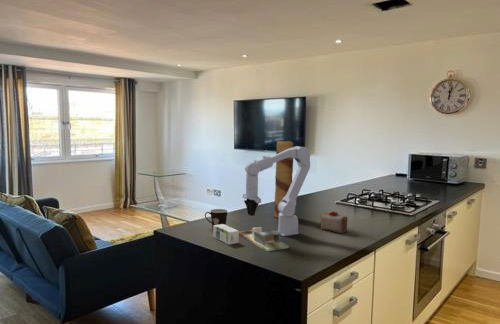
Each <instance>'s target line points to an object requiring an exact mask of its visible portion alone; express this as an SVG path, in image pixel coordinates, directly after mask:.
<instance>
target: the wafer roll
mask: <svg viewBox="0 0 500 324" xmlns="http://www.w3.org/2000/svg"><path fill="white" fill-rule="evenodd" d="M293 147H294V142H293V141H290V140H286V141H283V140H278V141H277V142H276V151H275V152H276V154H278V153H280V152H283V151H285V150H287V149H289V148H293ZM276 154H275V155H276ZM293 171H294V158H290V157H288V158H285V159H283V160H280V161H278V162H275V176H274V178H275V184H274V185H275V191H274V209H273V211H274V213H273V214H274V216H273V217H274V218H277V219H279V213H280V212H279V210H278V204H279V203H280V202H281V201H282V199H283V198H284V197H285V196H286V194H287V192H288V190H289V188H290V185H291V183H292V181H293V173H294V172H293Z"/></svg>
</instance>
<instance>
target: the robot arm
mask: <svg viewBox="0 0 500 324" xmlns="http://www.w3.org/2000/svg"><path fill="white" fill-rule="evenodd" d="M288 157H290V158H293V160H295V162H296V163H297V166H298V167H297V170H296V172H295V174H294V177H293V178H292V183H291V185H290V188H289V190H288V192H287V194H286V196H285V197H284V198H283V199H282V201H281V202H280V203H279V204H278V210H279V212H280V213H279V218H278V227H277V231H279V232H281V236H283V237H285V236H294V235H299V234H300V233H299V218H298V216H297V215H295V213H296V206H297V198H298V196H299V194H300V192H301V189H302V186H304V185H303V184H304V182H305V180H306V179H307V178H306V177H307V175H308V173H309V171H310V169H311V153H310V150H309V149H308V148H307V147H304V146H299V145H296V146H293V148H289V149H287V150H285V151H283V152H280V153H278V154H274V155H272V156H269V155H262V158H260V159H254V160H253V162H252V161H251V162H248V163H247V164H246V165H245V167H244V170H245V172H246V177H245V180H246V181H245V193H243V194H242V198H243V199H244V200H243V202H244V204H245V207H246V210H247V215H248V216H250V217H253V216H255V215H256V212H257V207H258V206H259V204H261V203H262V198H260V197H259V194H258V193H259V191H258V190H259V188H258V187H259V173H260V172H263V171H265V170H267V169H269V168H272V167H273V166H274V163H275V164H276V162H278V161H280V160H283V159H285V158H288Z"/></svg>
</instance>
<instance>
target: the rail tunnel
mask: <svg viewBox="0 0 500 324" xmlns="http://www.w3.org/2000/svg"><path fill="white" fill-rule="evenodd" d="M271 235H274V242H271V243H265V237H266V236H271ZM281 236H282V235H281V232H279V231H278V230H273V229H269V231H268V230H267V231H262V232H260V233H258V232H254V237H252V229H251V230H243V231H239V237H242V238H243V239H245V240H247V241H248V242H249V243H252V244H254V245H255V246H257V247H258V248H260V249H262V250H264V251H266V252H272V251H279V250H285V249H289V247H290V246H289V245H288V244H286V242H285V243H284V242H282V241H281V238H282V237H281Z"/></svg>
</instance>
